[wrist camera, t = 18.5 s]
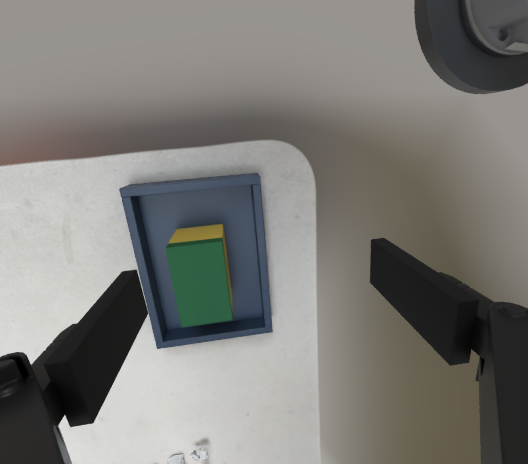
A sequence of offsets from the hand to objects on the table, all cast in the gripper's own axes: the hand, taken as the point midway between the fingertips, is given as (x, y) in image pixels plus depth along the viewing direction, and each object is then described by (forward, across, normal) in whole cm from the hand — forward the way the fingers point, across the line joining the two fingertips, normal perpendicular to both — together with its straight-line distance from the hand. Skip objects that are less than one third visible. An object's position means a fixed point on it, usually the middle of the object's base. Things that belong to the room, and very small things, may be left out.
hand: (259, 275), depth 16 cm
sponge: (+22, -6, -8) cm, 24 cm away
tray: (+22, -6, -8) cm, 24 cm away
